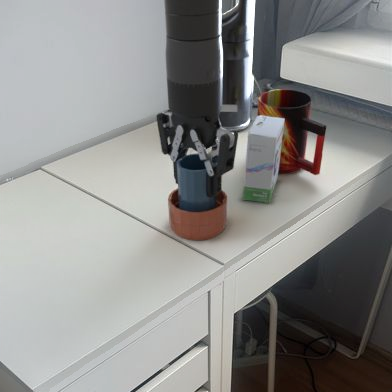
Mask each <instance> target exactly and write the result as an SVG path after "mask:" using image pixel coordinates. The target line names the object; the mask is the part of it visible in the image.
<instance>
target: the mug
mask: <svg viewBox="0 0 392 392" xmlns="http://www.w3.org/2000/svg"><path fill="white" fill-rule="evenodd" d="M257 103H258V106H257V116H268V117H276V118H284V119H285V121H284V130H283V138H282V146H281V154H280V163H279V171H278V175H287V174H293V173H296V172H299V171H300V170H303V171H306V172H307V173H310V174H312V175H314V176H318V175H320V173H321V167H322V160H323V150H324V144H325V139H326V132H327V125H326V124H324V123H321V122H319V121H315V120H312V119H311V114H312V107H313V106H312V105H313V96H312V95H310V94H308V93H307V92H304V91H302V90H298V89H297V90H296V89H289V88H283V89H282V88H281V89H279V88H278V89H274V90H271V91H269V90H268V91H264V92H262V93H261V94H260V95H259V96H258V102H257ZM309 133H312V134H314V135H316V142H315V147H314V155H313V162H312V161H310V160H308V159H306V152H307V144H308V137H309Z"/></svg>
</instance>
